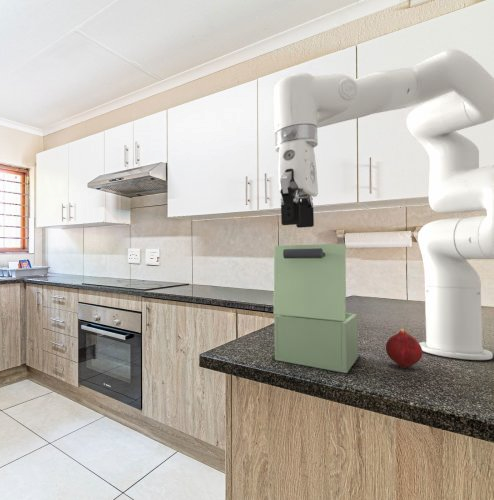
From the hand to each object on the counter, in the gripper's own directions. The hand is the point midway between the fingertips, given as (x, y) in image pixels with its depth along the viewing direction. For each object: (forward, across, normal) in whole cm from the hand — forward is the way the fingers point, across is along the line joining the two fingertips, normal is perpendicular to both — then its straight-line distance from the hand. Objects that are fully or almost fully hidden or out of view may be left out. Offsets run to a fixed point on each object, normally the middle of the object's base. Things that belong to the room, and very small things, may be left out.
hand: (298, 225), depth 69 cm
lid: (+11, +7, 0) cm, 13 cm away
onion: (+30, +17, -15) cm, 37 cm away
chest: (+29, +13, 0) cm, 32 cm away
